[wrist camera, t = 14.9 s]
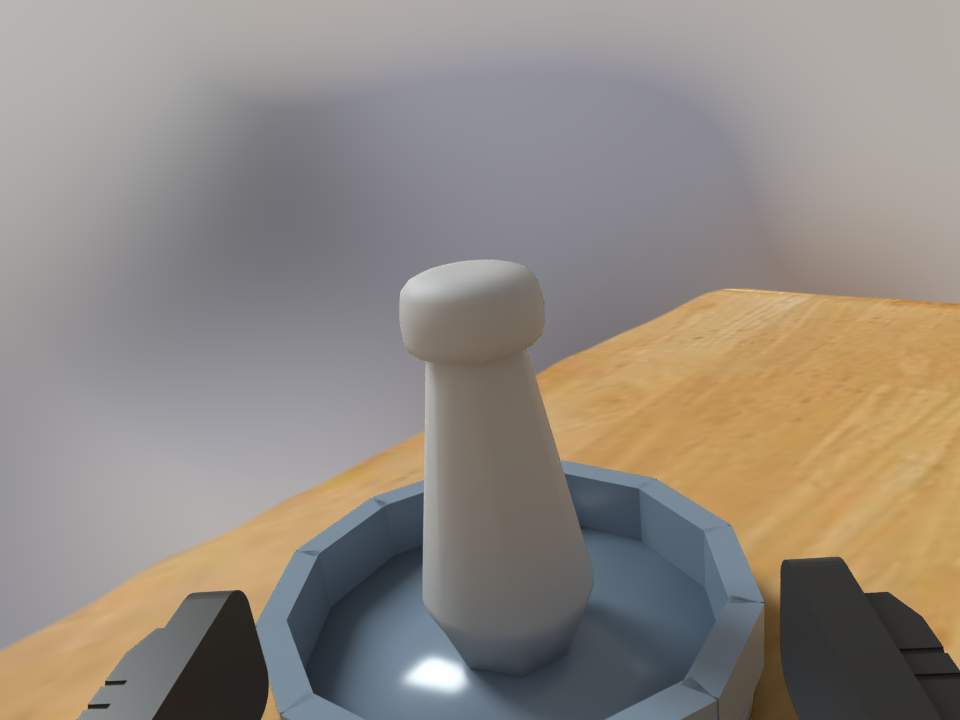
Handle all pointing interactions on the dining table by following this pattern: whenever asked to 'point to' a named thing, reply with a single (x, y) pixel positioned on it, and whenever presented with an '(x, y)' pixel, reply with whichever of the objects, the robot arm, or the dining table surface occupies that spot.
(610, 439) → the dining table surface
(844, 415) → the dining table surface
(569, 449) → the dining table surface
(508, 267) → the salt shaker
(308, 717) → the bowl
